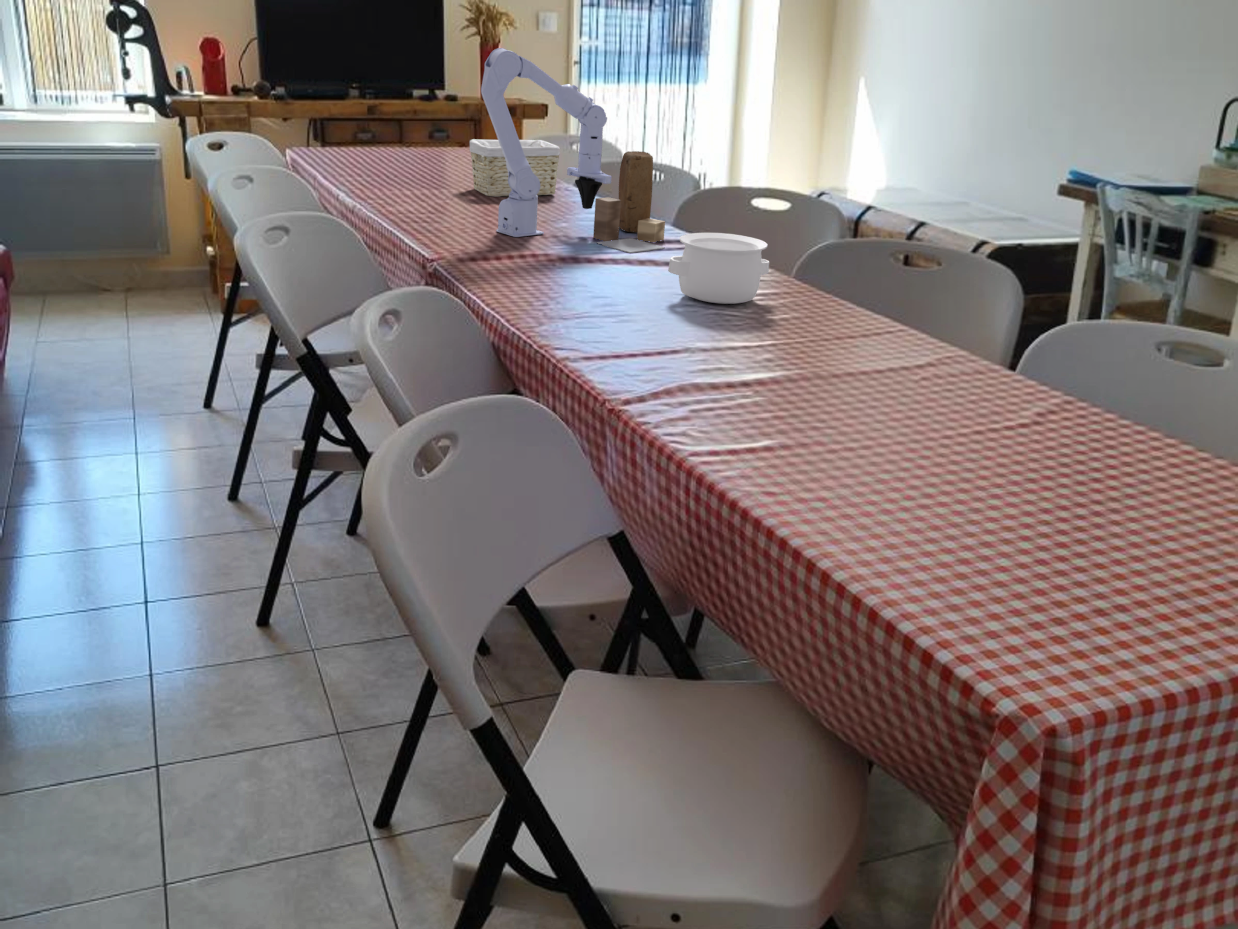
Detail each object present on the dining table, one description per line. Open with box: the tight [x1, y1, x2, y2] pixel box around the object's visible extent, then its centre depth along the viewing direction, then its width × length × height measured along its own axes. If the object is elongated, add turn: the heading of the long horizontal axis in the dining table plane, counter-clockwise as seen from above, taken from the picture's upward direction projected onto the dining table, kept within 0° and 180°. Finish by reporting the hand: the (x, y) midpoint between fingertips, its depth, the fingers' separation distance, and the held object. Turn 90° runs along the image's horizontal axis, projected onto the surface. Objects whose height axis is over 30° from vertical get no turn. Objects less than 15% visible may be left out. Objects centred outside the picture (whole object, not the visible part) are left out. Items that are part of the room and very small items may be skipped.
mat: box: [596, 237, 665, 254], centre depth 284 cm, size 12×12×1 cm
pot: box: [667, 232, 770, 305], centre depth 238 cm, size 22×17×12 cm
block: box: [618, 150, 654, 234], centre depth 300 cm, size 11×8×20 cm
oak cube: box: [636, 217, 666, 243], centre depth 292 cm, size 5×5×5 cm
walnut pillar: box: [592, 196, 621, 242], centre depth 288 cm, size 4×4×10 cm
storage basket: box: [469, 138, 561, 198], centre depth 343 cm, size 24×16×15 cm
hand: (587, 208), depth 293 cm, fingers closed
